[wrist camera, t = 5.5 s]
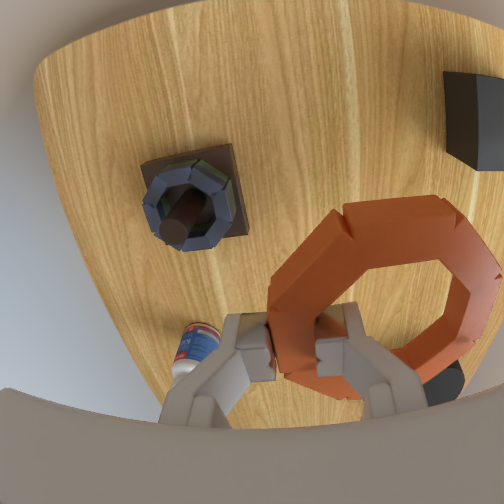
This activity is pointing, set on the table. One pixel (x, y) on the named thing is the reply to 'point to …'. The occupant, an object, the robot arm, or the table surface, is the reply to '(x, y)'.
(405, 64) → the table surface
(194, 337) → the pill bottle
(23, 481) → the robot arm
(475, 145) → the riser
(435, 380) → the black cylinder with pointer
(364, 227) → the orange ring
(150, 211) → the stack post
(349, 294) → the table surface
